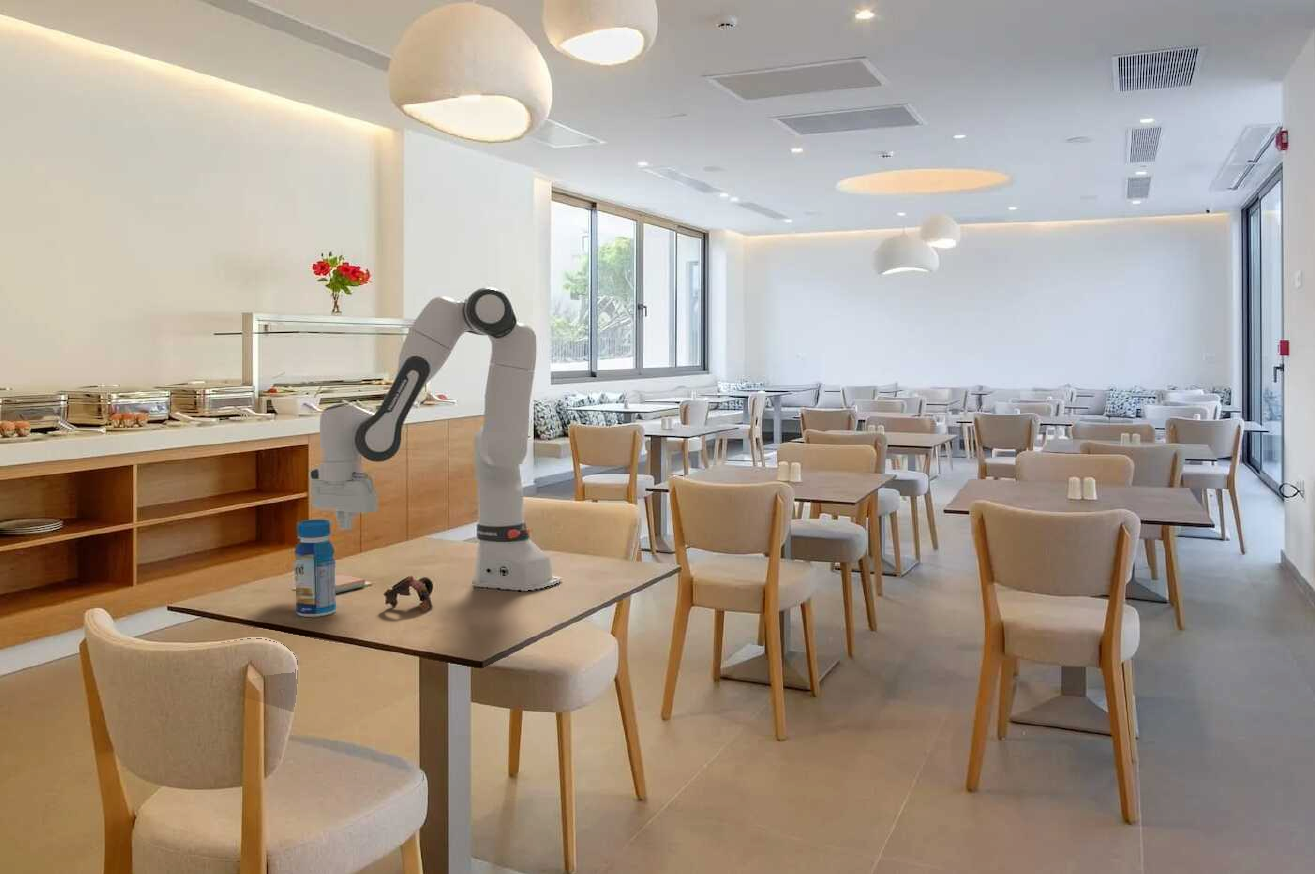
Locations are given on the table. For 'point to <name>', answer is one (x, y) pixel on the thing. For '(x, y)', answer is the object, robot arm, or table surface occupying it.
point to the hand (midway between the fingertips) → (346, 529)
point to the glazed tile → (347, 583)
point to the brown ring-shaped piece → (402, 588)
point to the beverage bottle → (314, 569)
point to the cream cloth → (350, 589)
